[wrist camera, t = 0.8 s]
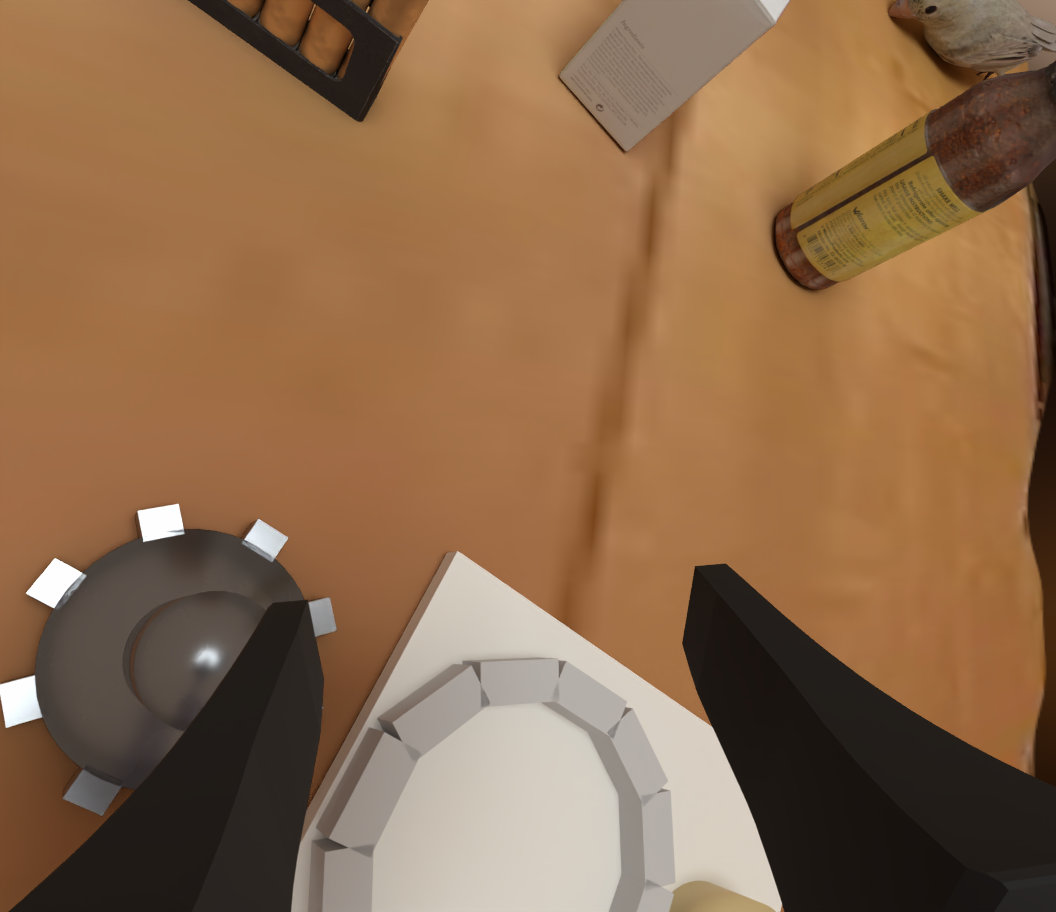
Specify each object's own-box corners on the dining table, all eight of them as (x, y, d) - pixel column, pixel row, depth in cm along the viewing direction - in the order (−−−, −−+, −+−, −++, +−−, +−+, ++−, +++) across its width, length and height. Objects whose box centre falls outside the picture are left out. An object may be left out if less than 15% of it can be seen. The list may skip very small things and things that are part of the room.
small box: (623, 156, 40) (777, 26, 32) (553, 76, 39) (695, -84, 30) (677, 84, 44) (826, -49, 35) (615, 9, 42) (756, -150, 34)
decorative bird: (881, -13, 62) (971, -84, 56) (980, 70, 70) (1068, 16, 64) (885, 37, 61) (978, -29, 55) (986, 116, 69) (1077, 66, 63)
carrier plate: (682, 1232, 29) (760, 1309, 26) (167, 1065, 22) (186, 1144, 18) (791, 789, 37) (861, 805, 34) (446, 553, 30) (494, 543, 26)
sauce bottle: (838, 297, 49) (1228, 130, 33) (778, 289, 45) (1180, 99, 29) (818, 207, 50) (1188, 1, 33) (759, 193, 46) (1138, -44, 30)
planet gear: (222, 861, 23) (265, 924, 18) (-82, 726, 20) (-130, 759, 15) (373, 600, 28) (440, 594, 23) (143, 455, 24) (163, 411, 20)
